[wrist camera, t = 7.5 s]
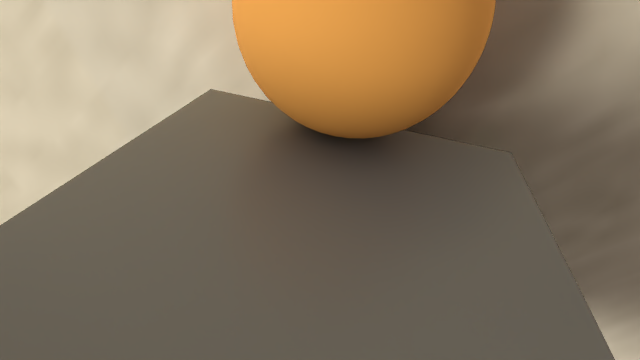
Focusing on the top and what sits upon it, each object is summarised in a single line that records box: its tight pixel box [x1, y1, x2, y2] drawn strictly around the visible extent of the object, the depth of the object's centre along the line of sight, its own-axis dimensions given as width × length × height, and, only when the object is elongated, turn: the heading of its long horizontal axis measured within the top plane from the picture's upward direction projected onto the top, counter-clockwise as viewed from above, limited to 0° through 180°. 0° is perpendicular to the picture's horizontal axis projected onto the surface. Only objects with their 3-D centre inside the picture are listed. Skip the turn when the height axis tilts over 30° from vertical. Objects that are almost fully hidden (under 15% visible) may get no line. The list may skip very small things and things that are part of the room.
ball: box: [232, 0, 496, 139], centre depth 8 cm, size 5×5×5 cm
